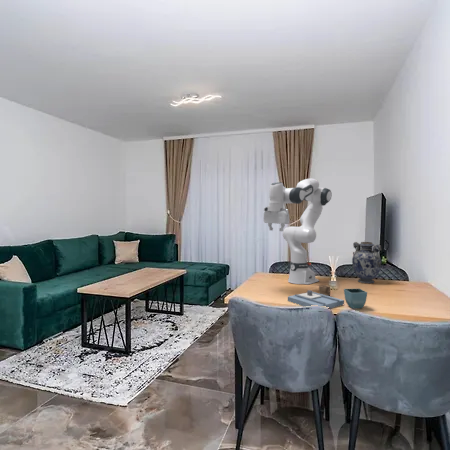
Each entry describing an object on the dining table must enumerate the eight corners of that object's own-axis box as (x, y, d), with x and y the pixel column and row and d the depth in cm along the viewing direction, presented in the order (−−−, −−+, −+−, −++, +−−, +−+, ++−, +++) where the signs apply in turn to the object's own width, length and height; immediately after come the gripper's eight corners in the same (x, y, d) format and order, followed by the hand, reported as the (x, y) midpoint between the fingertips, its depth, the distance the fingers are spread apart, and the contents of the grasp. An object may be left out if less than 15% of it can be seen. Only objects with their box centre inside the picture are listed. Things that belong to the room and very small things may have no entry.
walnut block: (323, 295, 195) (324, 285, 195) (330, 296, 191) (330, 286, 191) (318, 296, 193) (319, 286, 192) (325, 297, 189) (325, 287, 189)
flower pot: (343, 305, 175) (343, 288, 174) (358, 304, 175) (359, 288, 175) (350, 310, 166) (351, 292, 166) (367, 309, 167) (367, 292, 166)
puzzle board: (312, 295, 193) (312, 290, 193) (343, 304, 175) (344, 298, 175) (287, 301, 182) (287, 295, 182) (318, 311, 164) (318, 304, 164)
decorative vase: (388, 282, 226) (388, 242, 225) (373, 286, 216) (373, 244, 214) (360, 277, 244) (360, 240, 243) (345, 281, 234) (345, 242, 232)
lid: (309, 293, 188) (309, 287, 188) (321, 296, 181) (321, 291, 181) (298, 295, 183) (298, 290, 183) (310, 299, 176) (310, 293, 176)
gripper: (292, 208, 195) (291, 231, 195) (269, 208, 212) (269, 229, 213) (284, 208, 191) (284, 231, 192) (262, 208, 209) (261, 230, 209)
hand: (276, 230), depth 202 cm, fingers open, 8 cm apart
